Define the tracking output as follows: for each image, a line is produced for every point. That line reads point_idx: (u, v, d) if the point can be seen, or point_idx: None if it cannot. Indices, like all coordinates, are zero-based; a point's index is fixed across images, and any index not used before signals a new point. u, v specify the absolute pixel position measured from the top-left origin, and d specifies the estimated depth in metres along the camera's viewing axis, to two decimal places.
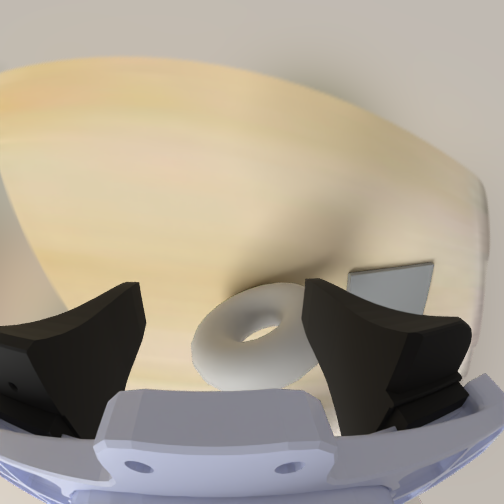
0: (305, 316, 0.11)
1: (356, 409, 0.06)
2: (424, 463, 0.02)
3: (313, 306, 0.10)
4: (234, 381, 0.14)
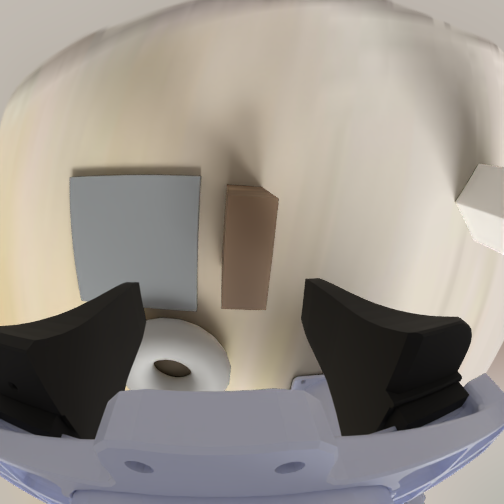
0: (305, 316, 0.11)
1: (355, 409, 0.06)
2: (424, 463, 0.02)
3: (313, 306, 0.10)
4: (225, 361, 0.20)
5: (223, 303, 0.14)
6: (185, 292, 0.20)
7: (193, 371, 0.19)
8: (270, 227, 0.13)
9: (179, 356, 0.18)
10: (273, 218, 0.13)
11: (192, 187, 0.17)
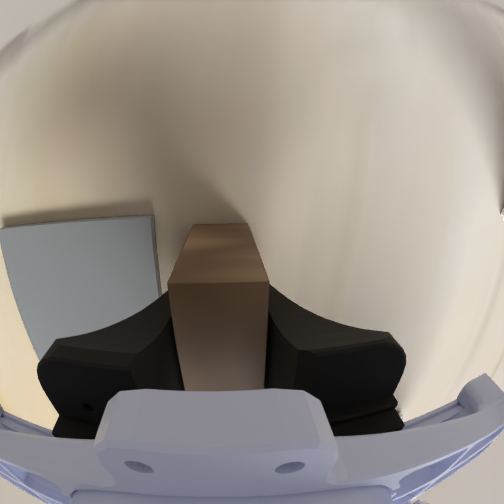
0: None
1: None
2: (424, 463, 0.02)
3: None
4: None
5: None
6: None
7: None
8: (257, 331, 0.07)
9: None
10: (261, 316, 0.07)
11: (141, 235, 0.11)
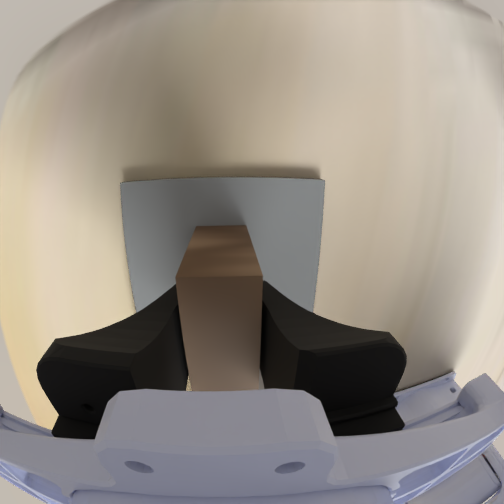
0: None
1: None
2: (424, 463, 0.02)
3: None
4: None
5: None
6: None
7: None
8: (253, 319, 0.08)
9: None
10: (256, 306, 0.08)
11: (315, 194, 0.13)
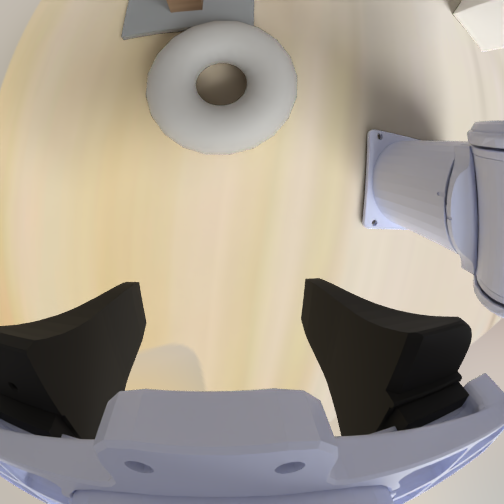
0: (305, 316, 0.11)
1: (355, 409, 0.06)
2: (424, 463, 0.02)
3: (313, 306, 0.10)
4: (291, 60, 0.14)
5: None
6: (242, 10, 0.14)
7: (254, 61, 0.14)
8: None
9: (239, 36, 0.13)
10: None
11: None
